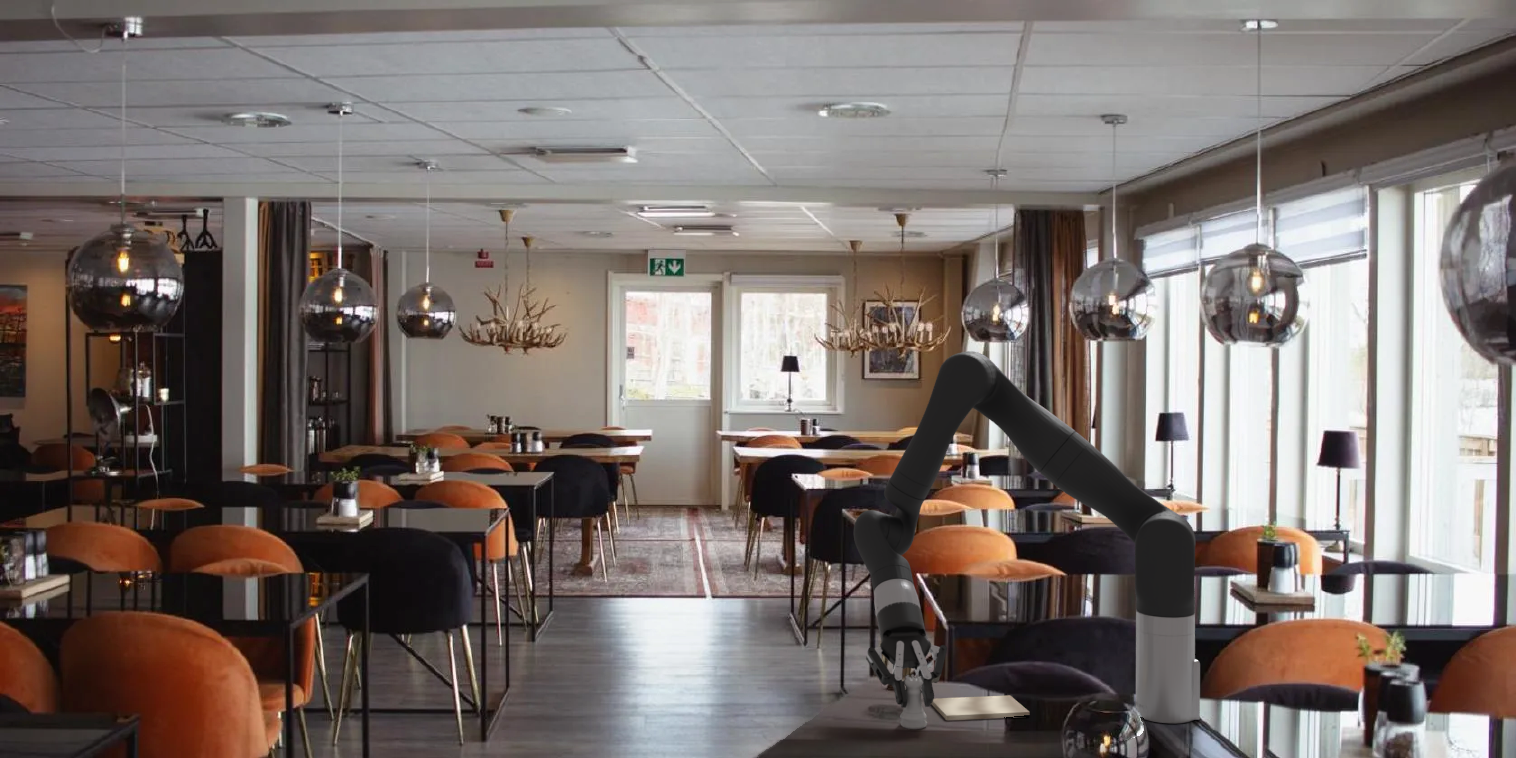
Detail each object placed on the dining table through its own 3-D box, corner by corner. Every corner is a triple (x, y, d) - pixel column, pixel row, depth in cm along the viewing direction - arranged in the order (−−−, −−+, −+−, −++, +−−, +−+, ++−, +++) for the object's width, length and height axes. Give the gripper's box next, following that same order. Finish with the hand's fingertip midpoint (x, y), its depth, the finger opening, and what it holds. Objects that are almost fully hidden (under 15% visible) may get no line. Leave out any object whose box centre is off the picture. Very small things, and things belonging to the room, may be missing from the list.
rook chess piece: (926, 730, 206) (926, 680, 206) (898, 729, 207) (898, 679, 207) (928, 722, 210) (928, 673, 210) (900, 720, 211) (900, 672, 211)
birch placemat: (1010, 699, 223) (1010, 695, 223) (1029, 716, 213) (1029, 711, 213) (930, 703, 221) (930, 698, 221) (946, 720, 212) (946, 715, 211)
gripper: (860, 601, 215) (876, 694, 203) (943, 598, 216) (964, 691, 205) (854, 626, 220) (869, 718, 208) (935, 623, 222) (955, 714, 210)
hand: (916, 704), depth 207 cm, fingers closed on rook chess piece, 3 cm apart
